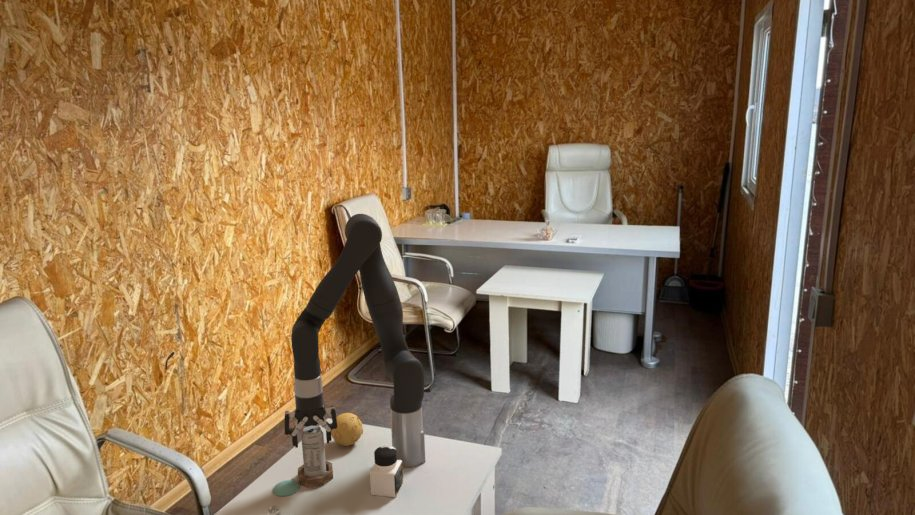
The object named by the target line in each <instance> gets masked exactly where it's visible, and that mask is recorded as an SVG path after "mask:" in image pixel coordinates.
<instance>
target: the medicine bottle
mask: <svg viewBox="0 0 915 515" xmlns="http://www.w3.org/2000/svg"><path fill="white" fill-rule="evenodd" d="M373 456H374V464H373V466H372V467H371V469H370V471H369V484H370V495H372V496H379V497H380V496H381V497H389V498H396V497H397V495H398V494H399V492H400V490H401V488H402V486H403V484H404V474H403V467H402V460H397V451H396V449H395V448H394V447H392V445H382V446H379V447H377V448H376V449H375V450H374V452H373Z"/></svg>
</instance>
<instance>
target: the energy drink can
mask: <svg viewBox="0 0 915 515" xmlns="http://www.w3.org/2000/svg"><path fill="white" fill-rule="evenodd" d="M300 436H301V447H302V449H301V452H302V459H303V464H304V474H305V475H304V476H307V477H309V478H311V477H318V476H322V475H323V474H325V473H326V472H327V471H326V462H325V461H326V450H325V439H324V438H325V437H324V432H323V430H322V428H321V425H318V424H317V425H316V426H312V425H311V426H308V427H305V426H304V428H303V430H302V434H301V435H300Z"/></svg>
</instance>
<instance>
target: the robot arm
mask: <svg viewBox="0 0 915 515" xmlns="http://www.w3.org/2000/svg"><path fill="white" fill-rule="evenodd" d="M382 231H383V230H382V229H381V226H380V224H379V223H378V222H377V221H376V219H374V218H373V217H371V216H370V215H368V214H365V213H356V214H354V215H352V216H351V217H350V218H349V219H348V220H347V221H346V223H345V227H344V235H345V238H346V240H345V243H344V246H343V248H342V250H341V253H340V255H339V256H338V258H337V260H336V262H335V263H334V265H333V266H332V267H331V269H329V271H328V272H327V273H326V274H325V275H324V277H323V278H322V279H321V280H320V282H319V283H318V285H317V286H316V288H315V290H314V291H313V293H312V295H311V297H310V298H309V300H308V302H307V304H306V306H305V307H304V308H303V310H302V312H301V313H300V314H299V315H298V317H297V319H296V320H295V322H294V323H293V326H292V329H291V335H290V337H291V338H290V341H291V342H290V343H291V349H292V350H291V351H292V355H293V370H294V371H293V374H294V382H293V383H294V384H293V387H294V390H293V391H294V400H295V402H294V403H295V411H292V412H290V411H289V410H286V411H285V412H284V435H285V436H288V435H290V436H291V442H292V447H295V449H296V448H297V449H298V448H299V438H298V433H299V432H300V430H301V429H302V428H303V426H304V428H305V427H308V426H311V425H312V426H316V425H317V426H318V425H319V426H320V427H322V428H323V429H324V430H325V436H326V438H325V439H326V444H328V445H329V444H330V442H331V441H332V439H333V438H332V435H331V430H332V429H336V428H337V419H336V417H337V413H336V406H335V405H331V406H330V407H327V408H326V407H325V405H324V392H323V391H324V388H323V380H322V379H323V378H322V373H321V372H322V370H321V368H322V367H321V359H320V355H319V353H320V352H319V349H320V348H319V332H320V331H321V328H322V327H323V325H324V323H325V322H326V320H327V319H329V318H330V317H331V316H332V315H333V313H334V311H335V310H336V307H337V306H338V304H339V302H340V301H341V299H342V297H343V296H344V294H345V292H346V291H347V288H348V287H349V285H350V284H351V282H352V281H353V279H354V278H355V276H356V275H357V273H358V272H359V278H360V281H361V286H362V292H363V297H364V299H365V300H364V301H365V303H366V307H367V310H368V314H369V316H370V319H371V321H372V322H371V323H372V326H373V328H374V330H375V333H376V336H377V337H378V341H379V343H380V349H381V354H382V359H383V360H382V361H383V365H384V371H385V374H386V375H387V376H388V378H390V380H391V381H392V383H393V395H391V397H390V399H389V409H390V411H389V412H390V427H391V428H390V430H391V446H392V447H394V448H395V449H396V451H397V460H402V468H413V467H417V466H419V465H420V464H422V463H426V447H425V446H426V441H425V431H424V428H423V427H424V426H423V399H424V397H425V372H424V371H425V370H424V367H423V366H424V365H423V364H422V362H421V361H420V360H419V359H418V358H417V357H415V356H414V355H413V354H412V353H411V350H410V348H409V346H408V344H407V342H406V338H405V335H404V331H403V329H404V328H403V327H404V326H403V324H404V322H403V320H404V311H403V306H402V302H401V298H400V295H399V291H398V289H397V285H396V284H395V280H394V278H393V275H392V274H391V272H390V270H389V268H388V265H387V264H386V261H385V259H384V255H383V252H382V247H381V242H382V240H383V232H382ZM326 414H328V416H329V417H331V421H332V422H331V423H329V421H328V420H327V419H326V418H325V416H326ZM293 418H295V419H296V423H295V424H294V426H293V427H292V428H291V427H290V421H293Z"/></svg>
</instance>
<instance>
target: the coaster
mask: <svg viewBox="0 0 915 515" xmlns="http://www.w3.org/2000/svg"><path fill="white" fill-rule="evenodd" d="M299 490H300V484H299V483H298V481H296V480H293V479H291V480H290V479H287V480H283V481H280V482H278V483H277V484H275V485H274V486H273V489H272V492H273V494H274V495H275V496H277V497H288V496H292V495H294V494H296V493H297V492H298V491H299Z"/></svg>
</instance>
